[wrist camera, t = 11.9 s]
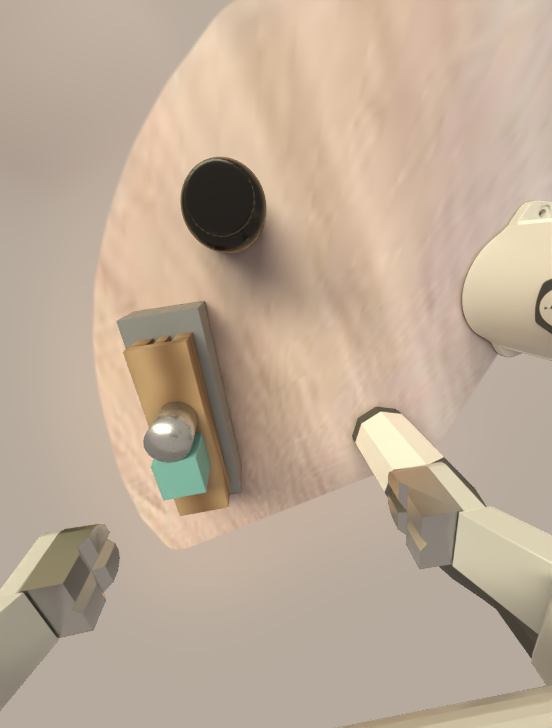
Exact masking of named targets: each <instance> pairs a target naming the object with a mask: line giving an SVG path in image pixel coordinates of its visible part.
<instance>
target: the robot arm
mask: <svg viewBox="0 0 552 728" xmlns="http://www.w3.org/2000/svg"><path fill="white" fill-rule="evenodd" d="M539 212H540V215H539ZM462 305H463V312H464V315H465V318H466V321H467V323H468V324H469V326H470V327H471V329H472V330H473V331H474V332H475V333H477V334H478V335H479V336H481V337H483V338H485V339H487V340H488V341H490V342H491V343H492V345H493V347H494V349H495V350H496V352H497V353H498V354H499V355H501V356H505V357H513V356H516V355H519V354H521V353H525V354H529V355H532V356H536V357H540V358H543V359H548V360H551V361H552V202H547V201H529V202H526V203H524V204H523V205H522V206H521V207H520V208H519V209H518V211H517V212H516V214H515V215H514V217H513V218H512V220H511V221H510V223H509V224H508V226H507V227H506V228H505V229H504V230H503V231H502V232H501V233H500V234H498V235H497V236H496V237H495V238H494V239H492V240H491V241H490V242H489V243H488V244H487V245H486V246H485V247H484V248H483V250H482V251H481V252H480V253H479V255H478V256H477V258H476V259H475V261H474V262H473V264H472V266H471V268H470V270H469V272H468V275H467V277H466V280H465V284H464V288H463V295H462ZM388 483H389V485H390V487H391V488H392V489H391V491H390V492H389V493H388V504H389V508H390V512H391V515H392V518H393V520H394V522H395V524H396V526H397V528H398V530H400V531H401V532H403V533H404V534H406V545H407V547H408V549H409V550H410V552H411V554H412V556H413V558H414V560H415V562H416V563H417V565H418V567H419V569H424V568H430V567H437V566H444V565H450V564H453V567H454V568H456V569H457V570H458V571H459V572H461V573H462V574H463V575H464V576H466V577H467V578H468V579H469V580H471V581H472V582H473V583H474V584H476V585H477V586H478V587H479V588H481V589H482V590H483V591H485V592H486V593H487V594H488V595H490V596H491V597H492V598H493V599H495V600H496V601H497V602H498V603H500V604H501V605H502V606H503V607H505V608H506V609H507V610H508V611H510V612H511V613H512V614H513V615H515V616H516V617H517V618H518V619H520V620H521V621H522V622H523V623H525V624H526V625H527V626H528V627H530V628H531V629H532V630H533V631H535V632H536V633H537V634H539V635H538V638H537V641H536V644H535V648H534V651H533V654H532V664H533V666H534V667H535V668H536V670H537V672H538V673H539V675H540V676H541V678H542V679H543V681H544V682H545V684H546V685H547V686H543V687H538V688H533V689H527V690H522V691H517V692H513V693H507V694H502V695H497V696H492V697H487V698H483V699H477V700H472V701H467V702H462V703H457V704H452V705H447V706H442V707H437V708H433V709H427V710H422V711H417V712H412V713H407V714H402V715H397V716H392V717H387V718H382V719H377V720H372V721H367V722H362V723H358V724H352V725H347V726H342V727H337V728H552V535H550V534H548V533H545V532H543V531H541V530H539V529H537V528H535V527H533V526H531V525H529V524H527V523H525V522H522V521H521V520H519V519H517V518H515V517H512V516H510V515H508V514H506V513H504V512H502V511H500V510H498V509H496V508H494V507H492V506H491V507H485V506H484V505H483V504H482V503H481V502H480V501H479V499H478V498H477V497H476V496H475V495H474V494H473V493H472V492H471V491H470V490H469V489H468V488H467V487H466V486H465V484H464V483H463V482H462V481H461V480H460V479H459V478H458V477H457V476H456V475H455V474H454V473H453V472H452V471H451V469H450V468H449V467H448V466H447V465H446V464H445V463H443V462H437V463H432V464H426V465H423V466H422V465H421V466H416V467H411V468H405V469H400V470H395V471H390V472H389V474H388ZM109 533H110V532H109V530H108V529H107V527H106V525H105V524H95V525H88V526H83V527H75V528H69V529H64V530H58V531H51V532H46V533H45V534H43V535H42V536H40V537H39V538H38V540H37V541H36V542H35V544H34V545H33V546H32V548H31V549H30V551H29V552H28V553H27V555H26V556H25V557H24V558H23V560H22V561H21V563H20V564H19V565H18V567H17V568H16V569H15V571H14V572H13V573H12V575H11V576H10V577H9V579H8V580H7V582H6V583H5V584H4V585H3V587H2V588H1V590H0V711H1V709H2V708H3V707H4V706H5V704H6V703H7V702H8V701H9V700H10V699H11V697H12V696H13V695H14V694H15V692H16V691H17V690H18V689H19V688H20V686H21V685H22V684H23V683H24V682H25V680H26V679H27V678H28V677H29V676H30V674H31V673H32V672H33V671H34V669H35V668H36V667H37V666H38V665H39V663H40V662H41V661H42V660H43V659H44V657H45V656H46V655H47V654H48V653H49V651H50V650H51V649H52V648H53V647H54V645H55V644H56V643H57V642H58V638H61V637H66V636H70V635H75V634H79V633H84V632H88V631H93V630H94V627H95V625H96V623H97V620H98V618H99V616H100V613H101V611H102V608H103V606H104V604H105V601H106V599H105V595H104V591H105V590H106V589H107V588H108V587H109V586H110V585H111V584H112V583H113V582H114V579H115V577H116V574H117V572H118V567H119V559H120V557H119V551H118V548H117V546H116V544H115V543H114V542H112V541H110V540H108V539H107V538H108V535H109Z"/></svg>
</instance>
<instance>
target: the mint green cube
mask: <svg viewBox="0 0 552 728" xmlns="http://www.w3.org/2000/svg"><path fill="white" fill-rule="evenodd" d="M210 465H211V463H210V460H209V456H208V453H207V449H206V446H205V442H204V439H203V435H202V433H197V434H195V435H194V439H193V443H192V446H191V450H190V452H189V454H188V455H187V456H186V457H185V458H183V459H182V460H180V461H177V462H172V463H166V462H161V461H158V460H156V459H154V460H153V463H152V465H151V469H152V471H153V474H154V476H155V479H156V482H157V484H158V487H159V490H160V492H161V495H162V498H163V500H169V499H174V498H179V497H184V496H189V495H195V494H200V493H205V492H206V490H207V484H208V477H209V471H210Z"/></svg>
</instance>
